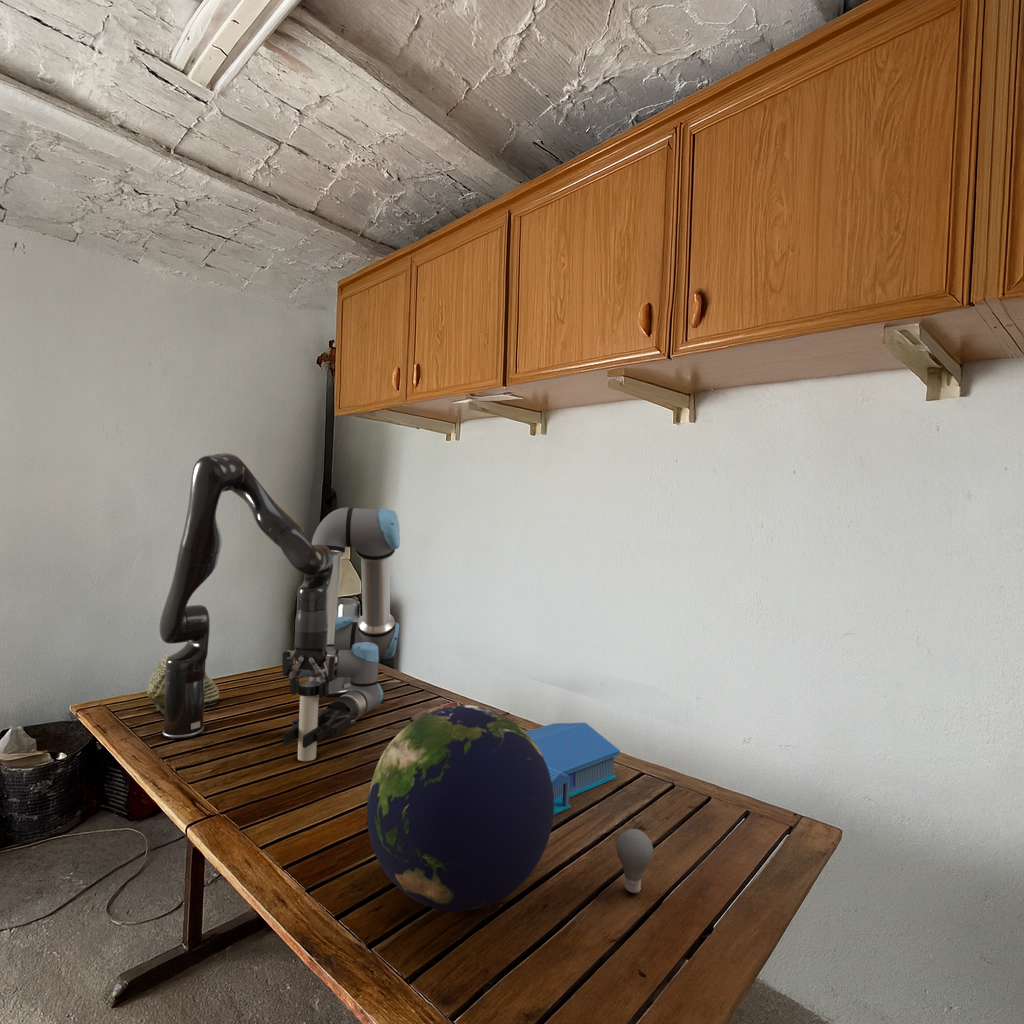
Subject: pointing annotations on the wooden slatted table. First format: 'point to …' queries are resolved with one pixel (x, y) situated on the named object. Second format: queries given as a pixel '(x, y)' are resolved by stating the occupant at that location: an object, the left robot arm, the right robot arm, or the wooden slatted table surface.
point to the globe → (460, 808)
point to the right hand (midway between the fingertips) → (294, 740)
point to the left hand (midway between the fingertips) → (309, 695)
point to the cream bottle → (307, 726)
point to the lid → (309, 688)
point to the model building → (574, 759)
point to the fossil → (158, 687)
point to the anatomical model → (434, 710)
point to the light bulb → (634, 857)
